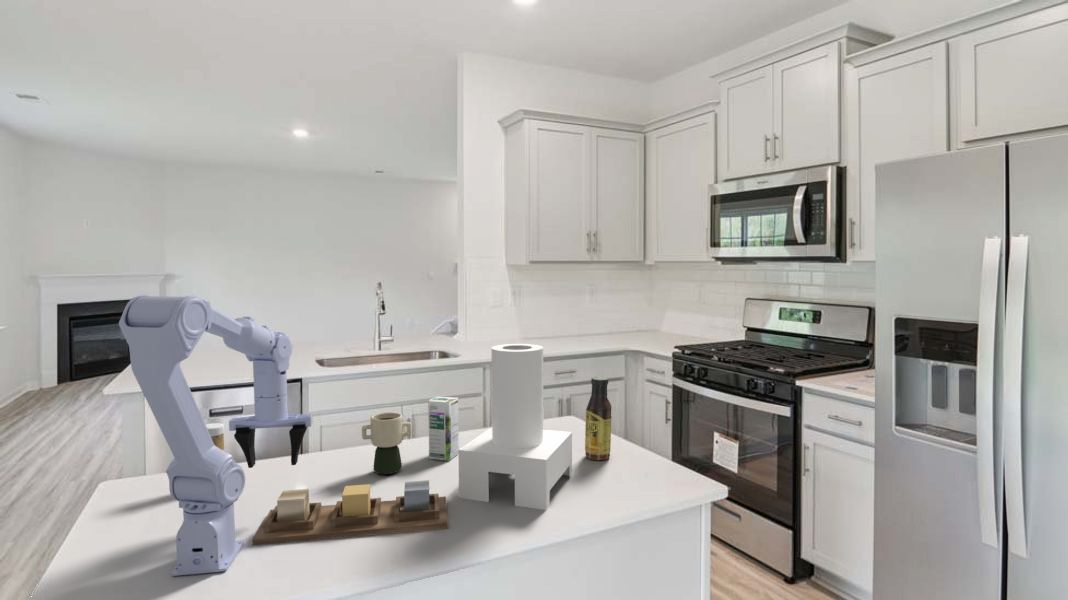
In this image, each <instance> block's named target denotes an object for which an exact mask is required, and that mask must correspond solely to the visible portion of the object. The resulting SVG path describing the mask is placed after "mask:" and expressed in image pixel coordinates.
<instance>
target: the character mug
mask: <svg viewBox="0 0 1068 600" xmlns="http://www.w3.org/2000/svg"><path fill="white" fill-rule="evenodd" d="M403 421H404V420H403V414H402V413H401V412H396V411H395V412H393V411H391V412H390V411H389V412H380V413H375V414H373V415H371V417H370V424H364V425H362V427H361V438H362V440H370V441H371V443H372V446H374V447H376V449H375V451H374V460H373V471H374V472H375V473H377V474H381V475H388V474H390V475H391V474H394V473H396V472H398V471H400V470H401V469H402V468H403V467H402V464H403V463H402V457H401V453H400V452H401V451H400V447H399V445H400V444H402V442H403V439H404V437H410V436H412V423H411V421H410V422H409V421H405V422H403ZM404 427H406V431H404ZM367 430H370V434H367Z"/></svg>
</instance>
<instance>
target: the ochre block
mask: <svg viewBox="0 0 1068 600" xmlns="http://www.w3.org/2000/svg"><path fill="white" fill-rule="evenodd" d="M341 494H342V495H341V501H342V511H343V517H347V516H360V515H370V511H371V503H370V499H371V484H370V483H369V484H356V485H355V484H354V485H345V486H344V490H343V492H342V493H341Z"/></svg>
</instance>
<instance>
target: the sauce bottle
mask: <svg viewBox="0 0 1068 600" xmlns="http://www.w3.org/2000/svg"><path fill="white" fill-rule="evenodd" d="M590 383H591V394H590V399H589V401H588V403H587V405H586V409H585V433H584V434H585V435H584V436H585V438H584V452H585V457H586V458H587V459H589V460H591V461H592V460H593V461H595V462H596V461H604V460H608V459H609V458H610V456H611V455H610V454H611V442H612V404H611V402H610V400H609V399H608V398H609V397H608V384H609V378H608V377H606V376H599V375H597V376H596V375H595V376H592V377H591V379H590Z"/></svg>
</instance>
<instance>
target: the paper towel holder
mask: <svg viewBox="0 0 1068 600" xmlns="http://www.w3.org/2000/svg"><path fill="white" fill-rule="evenodd" d="M489 473H497V474H506V475H514V506H515V507H524V508H531V509H536V510H542V511H543V510H544V511H547V510H548V509H549V507H550V498H551V497H550V494H551V493H550V491H551V489H552V488H553V487H554V486H555V484H556V483H558V481H559V480H560V479H561V477H562V476H567V477H568V476H569V479H571V478H572V476H573V432H572V431H563V430H554V429H552V430H551V429H544V346H542V345H539V344H532V343H531V344H530V343H505V344H504V343H503V344H497V345H493V346H491V427H489V428H488V429H486V430H485V431H484V432H481V434H479V435H477V436H476V437H475V438H474V439H473V438H472V440H470V441H469V442H467V443H466V444H465V445H463V446H462V447H460V448H459V450H458V498H460V499H466V500H473V501H481V502H487V503H489V502H490V500H489V499H490V496H489Z"/></svg>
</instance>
